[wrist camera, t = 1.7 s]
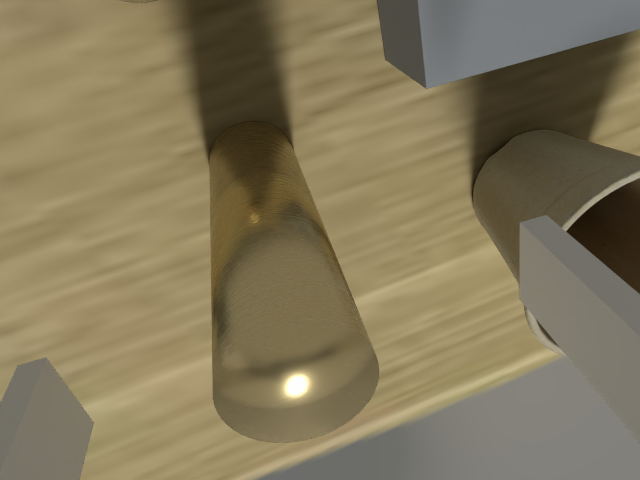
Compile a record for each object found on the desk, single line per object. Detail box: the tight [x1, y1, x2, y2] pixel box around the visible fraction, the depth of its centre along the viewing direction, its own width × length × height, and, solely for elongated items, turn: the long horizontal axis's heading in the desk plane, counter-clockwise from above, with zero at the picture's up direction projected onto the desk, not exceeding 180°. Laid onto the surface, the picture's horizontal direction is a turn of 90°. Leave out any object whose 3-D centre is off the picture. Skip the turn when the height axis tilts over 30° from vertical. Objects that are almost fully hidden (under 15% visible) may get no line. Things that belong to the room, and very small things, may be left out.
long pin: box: [209, 121, 379, 443], centre depth 18 cm, size 4×4×14 cm
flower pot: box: [473, 130, 640, 357], centre depth 24 cm, size 9×9×9 cm
